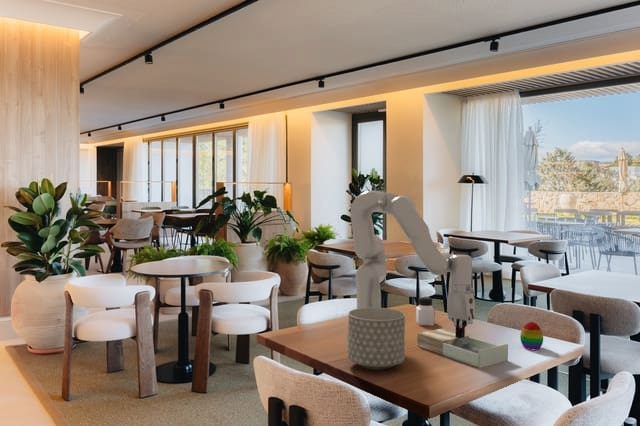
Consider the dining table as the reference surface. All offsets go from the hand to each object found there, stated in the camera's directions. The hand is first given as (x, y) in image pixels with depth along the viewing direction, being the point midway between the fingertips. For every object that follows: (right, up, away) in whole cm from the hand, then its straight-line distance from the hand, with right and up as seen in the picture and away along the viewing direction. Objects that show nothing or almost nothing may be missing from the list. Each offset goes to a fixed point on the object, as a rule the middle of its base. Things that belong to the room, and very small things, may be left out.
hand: (460, 337), depth 191 cm
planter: (-33, -6, -15) cm, 37 cm away
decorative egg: (+30, -6, +8) cm, 31 cm away
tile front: (+2, -3, -5) cm, 6 cm away
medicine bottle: (-4, -5, +44) cm, 45 cm away
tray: (+4, -6, -5) cm, 9 cm away
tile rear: (0, -2, 0) cm, 2 cm away
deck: (-5, -6, +7) cm, 10 cm away
